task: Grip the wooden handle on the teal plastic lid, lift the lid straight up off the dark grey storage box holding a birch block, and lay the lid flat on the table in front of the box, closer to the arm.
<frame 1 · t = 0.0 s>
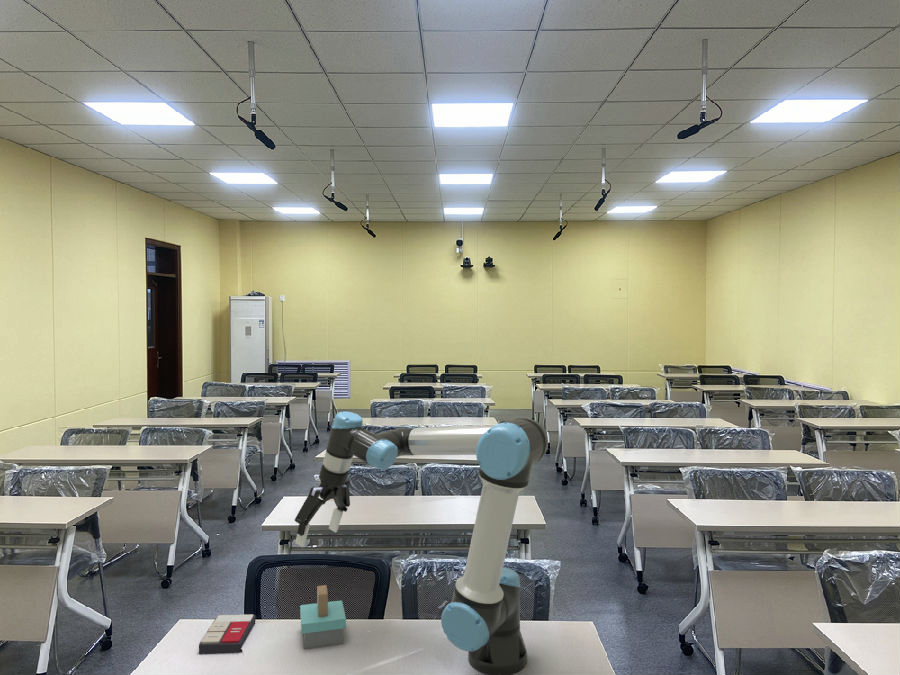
hand: (316, 537, 167), 28 cm above the table, tool tilted 20°, fingers open, 13 cm apart
calculator: (228, 641, 167), on the table
storage box: (322, 640, 165), on the table
birch block: (322, 637, 165), point 1 cm above the table, touching storage box
lid: (322, 615, 165), point 7 cm above the table, touching storage box
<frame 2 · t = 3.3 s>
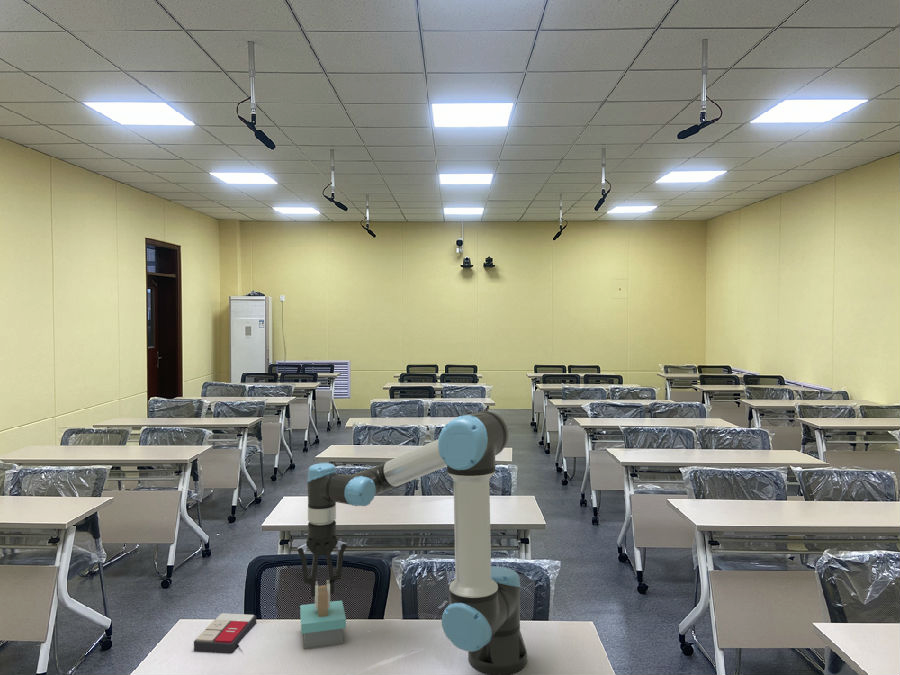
hand: (322, 606, 165), 10 cm above the table, tool pointing down, fingers closed on lid, 2 cm apart
lid: (322, 615, 165), point 7 cm above the table, touching gripper, storage box
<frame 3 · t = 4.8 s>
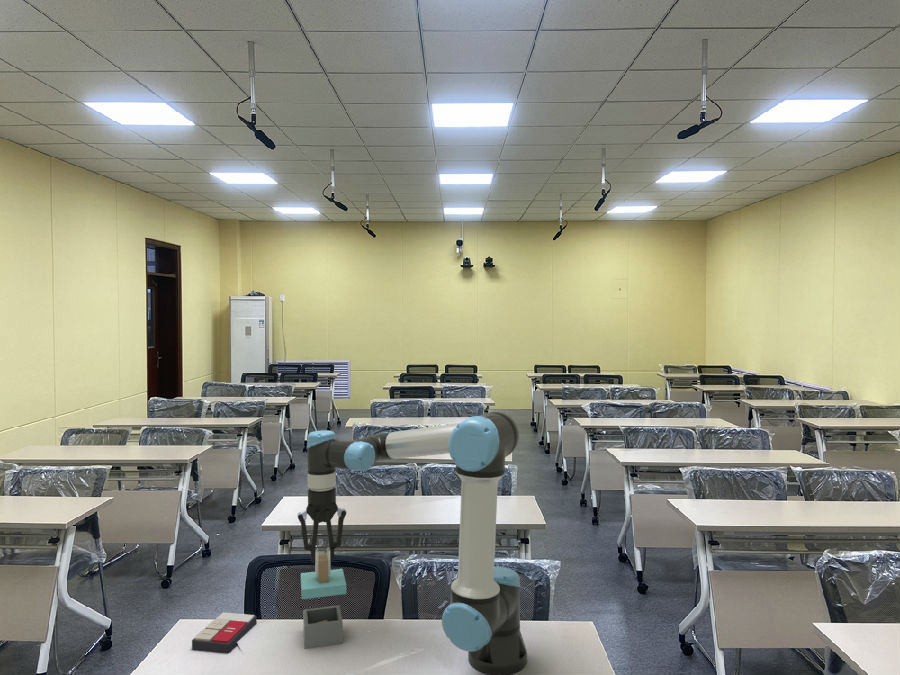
hand: (322, 573, 165), 19 cm above the table, tool pointing down, fingers closed on lid, 2 cm apart
lid: (323, 582, 165), point 16 cm above the table, touching gripper
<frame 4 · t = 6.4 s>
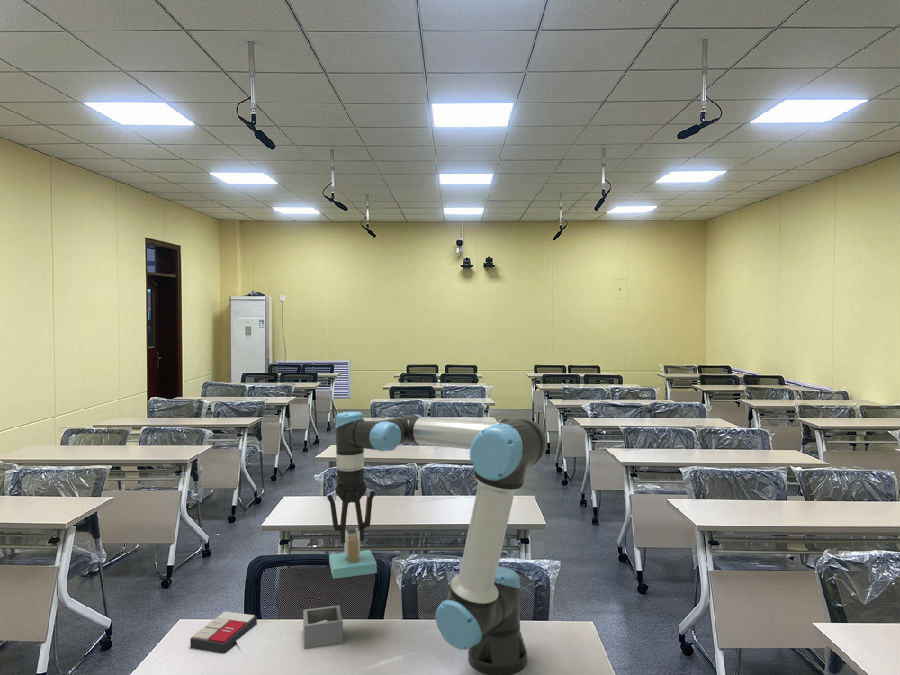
hand: (352, 553, 166), 24 cm above the table, tool pointing down, fingers closed on lid, 2 cm apart
lid: (352, 562, 166), point 21 cm above the table, touching gripper
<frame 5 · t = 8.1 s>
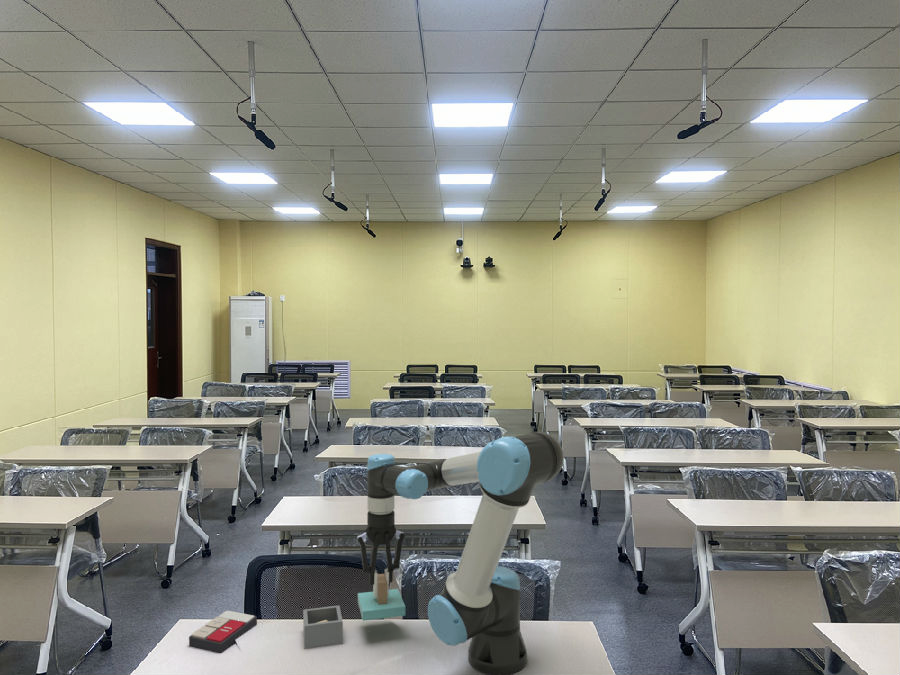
hand: (381, 594, 168), 12 cm above the table, tool pointing down, fingers closed on lid, 2 cm apart
lid: (381, 603, 168), point 9 cm above the table, touching gripper
when the fingers open (6 cm above the table, at t = 9.6 s): lid drops 2 cm, point 1 cm above the table.
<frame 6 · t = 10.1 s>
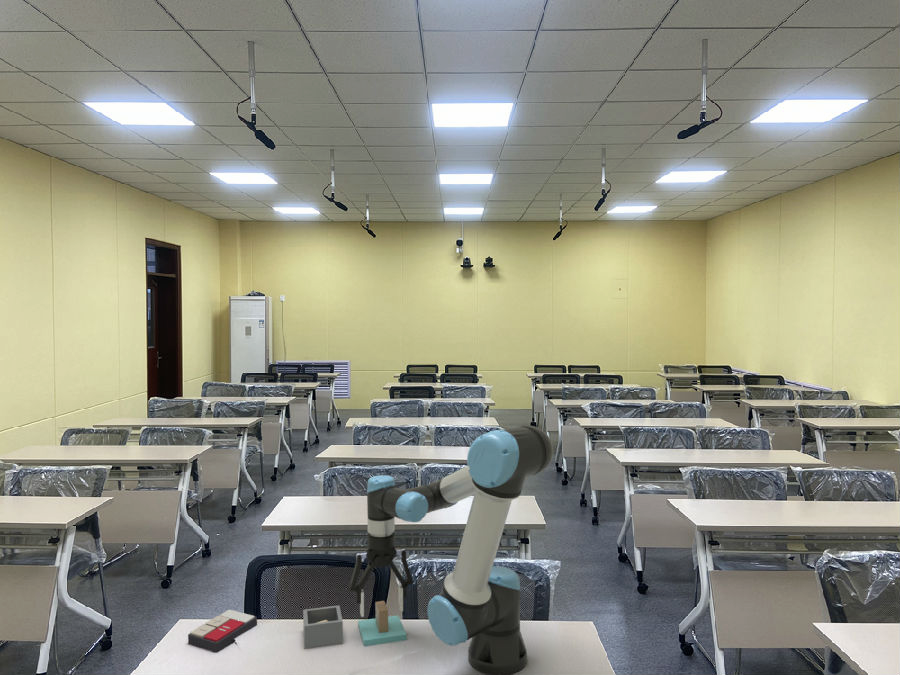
hand: (381, 612, 168), 7 cm above the table, tool pointing down, fingers open, 10 cm apart
lid: (381, 630, 168), point 1 cm above the table
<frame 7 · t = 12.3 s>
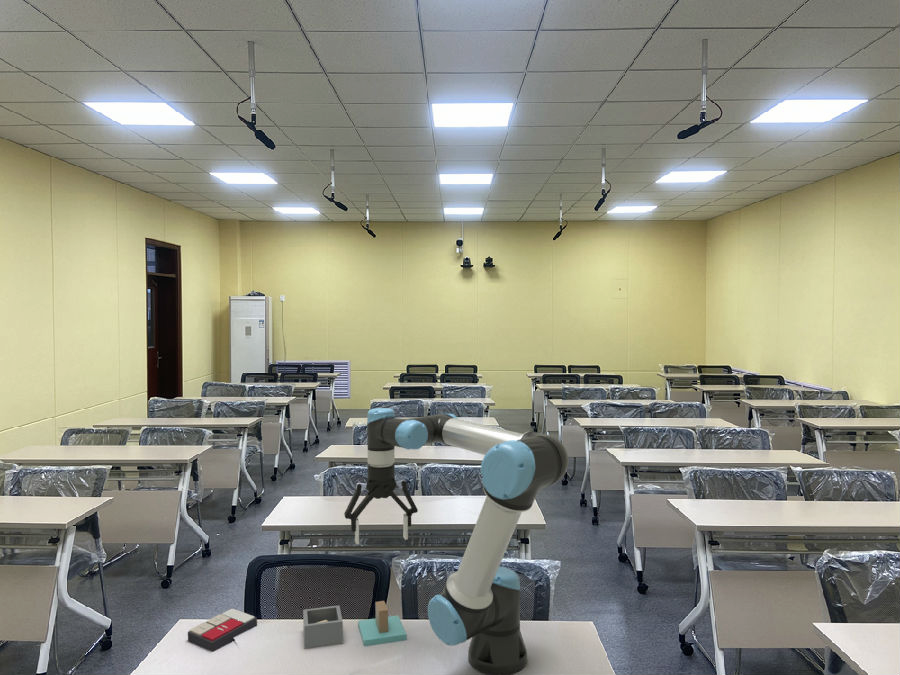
hand: (381, 540, 168), 27 cm above the table, tool pointing down, fingers open, 13 cm apart
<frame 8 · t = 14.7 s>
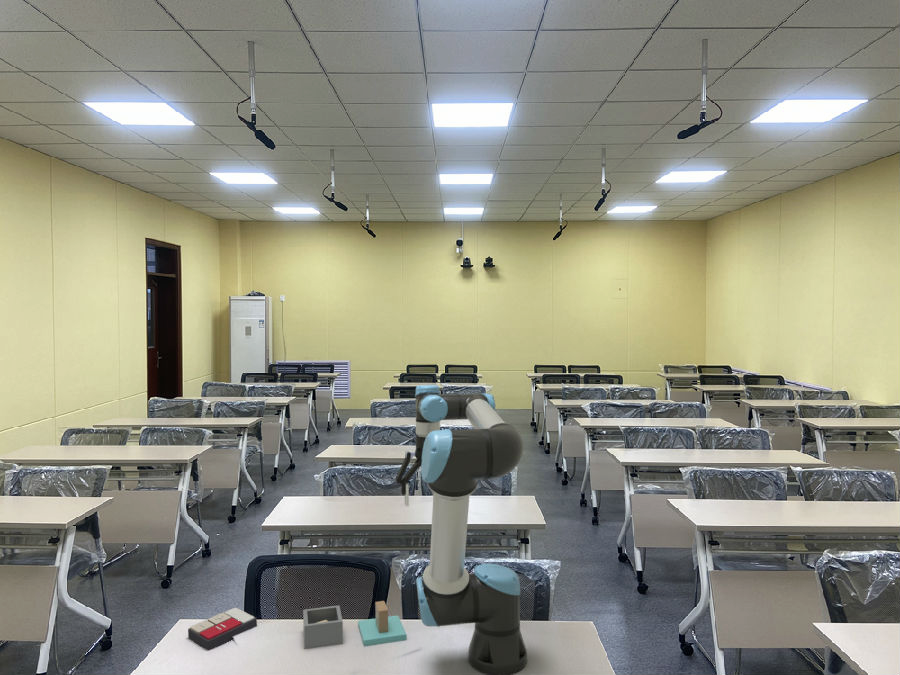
hand: (428, 503, 187), 32 cm above the table, tool pointing down, fingers open, 13 cm apart
at the end: lid inside the target area (0.0 cm from its centre), point 1.5 cm above the table; lid tilted 0°; lid touching table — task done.
